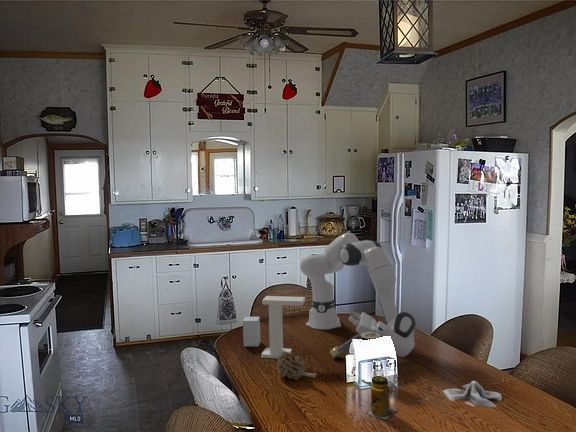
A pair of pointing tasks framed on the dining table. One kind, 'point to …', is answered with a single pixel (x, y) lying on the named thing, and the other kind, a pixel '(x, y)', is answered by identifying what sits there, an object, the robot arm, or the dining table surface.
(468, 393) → the cloth
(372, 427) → the dining table surface
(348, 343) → the link bar
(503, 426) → the dining table surface
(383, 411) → the condiment
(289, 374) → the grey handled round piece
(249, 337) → the supplement box
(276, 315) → the stand
